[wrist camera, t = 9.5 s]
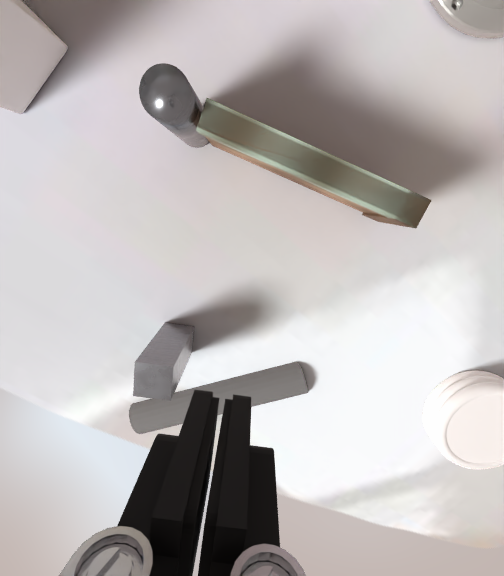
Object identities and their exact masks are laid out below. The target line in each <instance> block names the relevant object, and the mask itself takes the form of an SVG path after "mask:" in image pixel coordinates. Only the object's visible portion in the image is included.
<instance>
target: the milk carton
mask: <svg viewBox="0 0 504 576" xmlns="http://www.w3.org/2000/svg"><path fill="white" fill-rule="evenodd" d="M67 49H68V46H67V45H66V44H65V43H64V42H63V41H62V40H61V39H60V38H59V37H58V36H57V35H56V34H55V33H54V32H53V31H52V30H51V29H50V28H49V27H48V26H47V25H46V24H45V23H44V22H43V21H42V20H41V19H40V18H39V17H38V16H37V15H36V14H35V13H34V12H33V11H32V10H31V9H30V8H29V7H28V6H26V5H25V4H24V3H23V2H22V1H21V0H0V107H2V108H4V109H7V110H10V111H13V112H15V113H18V114H22V113H23V112H24V111H25V110H26V108H27V107H28V105H29V104H30V103H31V101H32V100H33V98H34V97H35V95H36V94H37V93H38V91H39V90H40V88H41V87H42V86H43V84H44V83H45V81H46V80H47V78H48V77H49V76H50V74H51V73H52V71H53V70H54V68H55V67H56V66H57V64H58V63H59V61H60V60H61V58H62V57H63V56H64V54H65V53H66V51H67Z"/></svg>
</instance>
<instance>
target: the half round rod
mask: <svg viewBox="0 0 504 576" xmlns="http://www.w3.org/2000/svg"><path fill="white" fill-rule="evenodd" d="M195 389H196V390H204V391H211V392H213V397H217V398H219V407H218V415H220V414H223V410H224V404H225V399H233V394H234V395H242V396H249V397H251V407H252V406H257V405H261V404H265V403H269V402H273V401H277V400H281V399H285V398H289V397H293V396H297V395H301V394H305V393H308V387H307V383H306V380H305V376H304V373H303V371H302V368H301V366H300V365H299V363H298V362H293V363H289V364H285V365H281V366H277V367H273V368H269V369H265V370H262V371H258V372H254V373H250V374H246V375H242V376H238V377H234V378H230V379H227V380H223V381H219V382H215V383H211V384H207V385H203V386H199V387H195V388H192V389H188V390H184V391H180V392H176V393H174V394H173V397H172V399H171V401H169V400H161V399H154V398H153V399H149V400H145V401H141V402H137V403H133V404H132V405H131V407H130V410H129V418H130V423H131V426H132V428H133V429H134V431H135V432H136V433H138V434H143V433H147V432H151V431H155V430H159V429H163V428H167V427H171V426H175V425H179V424H183V422H184V419H185V416H186V413H187V410H188V407H189V405H190V402H191V399H192V396H193V393H194V390H195Z"/></svg>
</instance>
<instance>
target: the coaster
mask: <svg viewBox="0 0 504 576" xmlns="http://www.w3.org/2000/svg"><path fill="white" fill-rule="evenodd" d="M422 418H423V424H424V427H425V430H426V432H427V434H428V435H429V437H430V438H431V439H432V441H433V442H434V444H435V445H436V446H437V447H438V449H439V451H440V452H441V453H442V454H443V455H444V456H445V457H446V458H447V459H448V460H450V461H451V462H453V463H454V464H457V465H459V466H461V467H464V468H469V469H489V468H494V467H498V466H501V465H504V379H503V378H502V377H500V376H498V375H496V374H493V373H490V372H485V371H477V370H476V371H466V372H461V373H458V374H455V375H453V376H451V377H449V378H447V379H445V380H444V381H442V382H441V383H440V384H439V385H437V386H436V387H435V388H434V389H433V390H432V392H431V393H430V394H429V396H428V398H427V399H426V402H425V404H424V407H423V413H422Z"/></svg>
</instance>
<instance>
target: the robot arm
mask: <svg viewBox="0 0 504 576" xmlns="http://www.w3.org/2000/svg"><path fill="white" fill-rule="evenodd" d="M430 2H431V4H432V5H433V7H434V8H435V10H436V11H437V12H438V14H439V15H440V17H441V18H442V19H444V20H445V21H446V22H447V23H448V24H449V25H450V26H451V27H453V28H455V29H456V30H458V31H460V32H462V33H464V34H467V35H470V36H474V37H477V38H498V37H504V0H430ZM218 407H219V398H217V397H213V392H211V391H204V390H196V389H195V390H194V393H193V396H192V399H191V402H190V405H189V407H188V410H187V413H186V416H185V419H184V422H183V425H182V428H181V431H180V434H179V436H173V435H166V434H158V435H157V436H156V438H155V440H154V442H153V445H152V447H151V449H150V452H149V454H148V456H147V459H146V461H145V463H144V466H143V468H142V470H141V473H140V475H139V477H138V480H137V482H136V484H135V486H134V489H133V491H132V493H131V496H130V498H129V500H128V503H127V505H126V507H125V510H124V512H123V514H122V517H121V519H120V521H119V524H118V526H117V527H112V528H107V529H105V530H103V531H100V532H98V533H96V534H94V535H93V536H92V537H91V538H89V539H88V540H86V541H85V542H84V543H83V544H82V545H81V546H80V547H79V548H78V549H77V551H76V552H75V553H74V554H73V555H72V557H71V558H70V560H69V561H68V563H67V564H66V566H65V567H64V569H63V570H62V572H61V573H60V575H59V576H192V574H193V569H194V563H195V557H196V552H197V546H198V540H199V534H200V529H201V523H202V517H203V512H204V506H205V500H206V495H207V489H208V483H209V477H210V469H211V462H212V454H213V446H214V438H215V430H216V422H217V415H218ZM250 423H251V397H249V396H242V395H234V394H233V399H225V404H224V410H223V416H222V422H221V428H220V434H219V440H218V446H217V452H216V458H215V464H214V470H213V476H212V482H211V488H210V494H209V500H208V506H207V512H206V519H205V525H204V533H203V541H202V548H201V556H200V563H199V571H198V576H306V575H305V572H304V570H303V568H302V567H301V566H300V564H299V563H298V561H297V560H296V559H295V558H294V557H293V556H292V555H291V554H289V553H288V552H287V551H286V550H284V549H282V548H280V542H279V524H278V510H277V509H278V508H277V492H276V477H275V461H274V450H273V448H266V447H258V446H251V445H250Z"/></svg>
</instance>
